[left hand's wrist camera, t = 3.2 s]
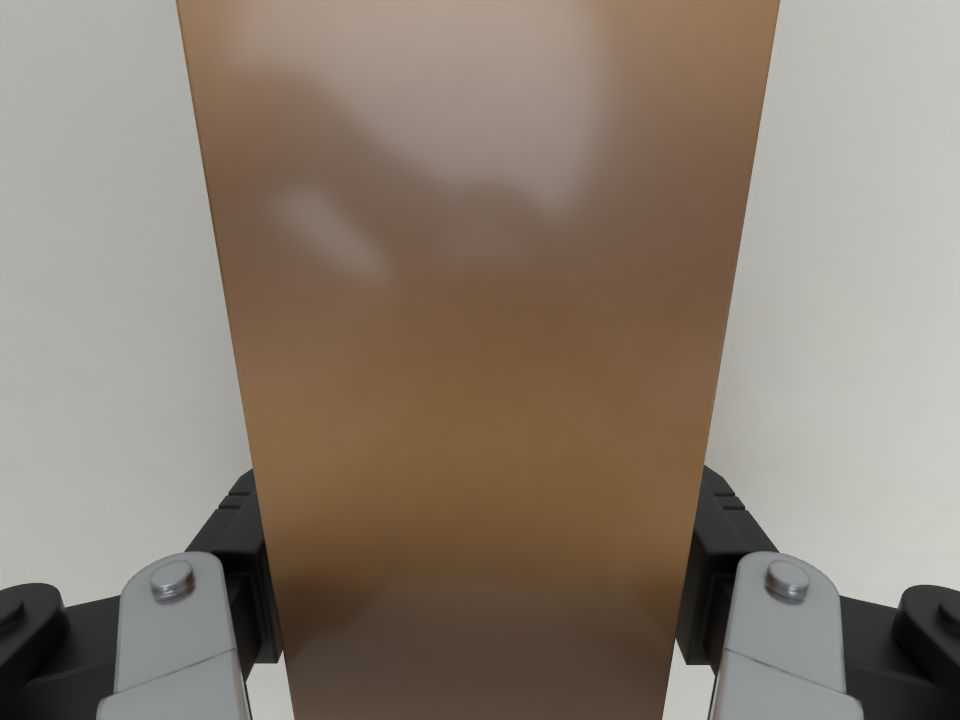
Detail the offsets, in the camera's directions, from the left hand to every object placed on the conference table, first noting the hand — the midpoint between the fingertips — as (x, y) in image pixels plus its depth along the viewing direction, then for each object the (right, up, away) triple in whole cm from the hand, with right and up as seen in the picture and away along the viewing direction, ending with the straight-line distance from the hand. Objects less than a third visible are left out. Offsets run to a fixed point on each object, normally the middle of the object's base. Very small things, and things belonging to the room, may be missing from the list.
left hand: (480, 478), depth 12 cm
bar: (0, +11, 0) cm, 11 cm away
